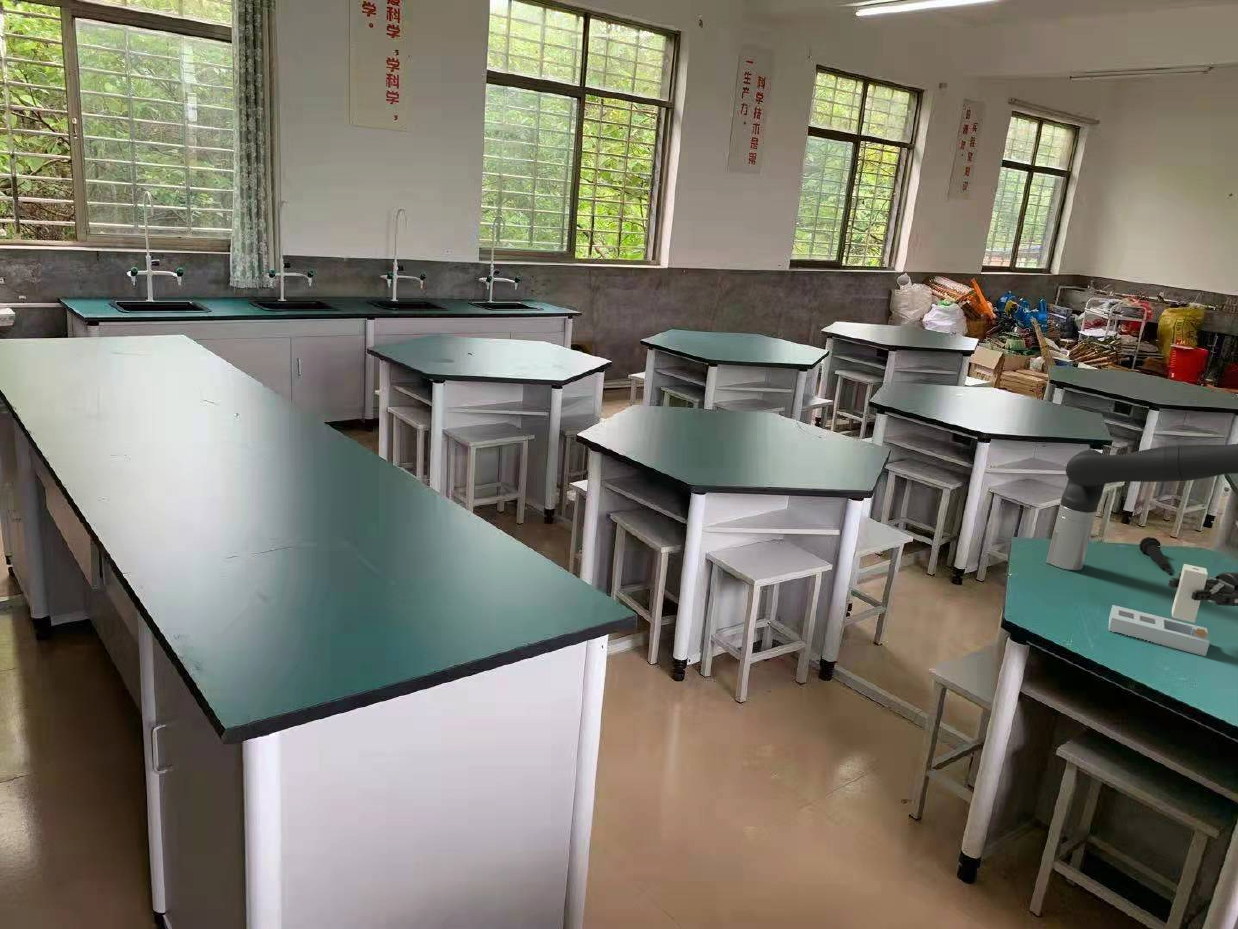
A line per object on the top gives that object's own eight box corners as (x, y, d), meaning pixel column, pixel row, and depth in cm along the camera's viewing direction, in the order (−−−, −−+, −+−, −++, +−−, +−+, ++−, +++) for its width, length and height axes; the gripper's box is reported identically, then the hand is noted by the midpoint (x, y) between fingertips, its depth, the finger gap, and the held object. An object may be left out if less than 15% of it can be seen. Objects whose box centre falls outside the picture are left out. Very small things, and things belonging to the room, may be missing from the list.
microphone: (1173, 586, 259) (1149, 553, 277) (1186, 570, 256) (1161, 538, 274) (1155, 578, 259) (1132, 545, 277) (1168, 562, 256) (1144, 530, 274)
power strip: (1108, 631, 217) (1112, 615, 216) (1109, 617, 225) (1113, 602, 224) (1205, 656, 208) (1210, 640, 207) (1202, 641, 216) (1207, 626, 215)
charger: (1172, 617, 212) (1185, 569, 209) (1171, 610, 216) (1184, 563, 212) (1194, 622, 210) (1207, 574, 207) (1193, 616, 214) (1206, 568, 210)
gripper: (1221, 561, 220) (1162, 562, 216) (1273, 586, 206) (1210, 587, 203) (1213, 590, 222) (1154, 591, 218) (1263, 616, 208) (1202, 617, 205)
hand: (1181, 589), depth 210 cm, fingers closed on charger, 6 cm apart
